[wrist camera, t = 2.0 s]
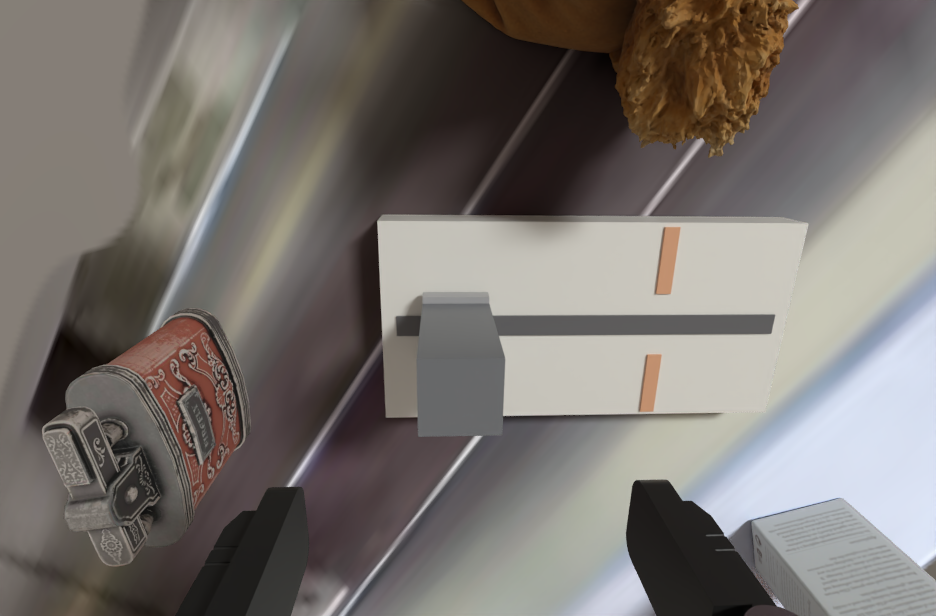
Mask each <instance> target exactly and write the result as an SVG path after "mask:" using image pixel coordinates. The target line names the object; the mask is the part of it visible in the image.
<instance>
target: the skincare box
mask: <svg viewBox="0 0 936 616" xmlns="http://www.w3.org/2000/svg"><path fill="white" fill-rule="evenodd" d="M751 524H752V536H753V547H754V558H755V568H756V570H757V572H758V573H759V574H760V576H761V577H762V578H763V580H764V581H765V582H766V584H767V585H768V586H769V588H770V589H771V590H772V592H773V593H774V594H775V596H776V597H777V598H778V600H779V601H780V602H781V604H782V605H783V606H784V608H785V609H786V610H789V611H791V612H793V613H795V614H797V615H798V616H936V581H935V580H934V579H933V578H932V577H931V576H930V575H928V573H926V572H925V571H924V570H923V569H922V568H921V567H920V566H919V565H917V564H916V563H915V562H914V561H913V560H912V559H911V558H910V557H909V556H907V555H906V554H905V553H904V552H903V551H902V550H901V549H899V548H898V547H897V546H896V545H895V544H894V543H893V542H892V541H891V540H889V539H888V538H887V537H886V536H885V535H884V534H883V533H882V532H880V531H879V530H878V529H877V528H876V527H875V526H874V525H872V524H871V523H870V522H869V521H868V520H867V519H866V518H865V517H864V516H862V515H861V514H860V513H859V512H858V511H857V510H856V509H855V508H853V507H852V506H851V505H850V504H849V503H848V502H846V501H845V500H844V499H842V498H839V499H835V500H831V501H827V502H823V503H820V504H816V505H812V506H808V507H804V508H800V509H796V510H792V511H788V512H785V513H781V514H777V515H773V516H769V517H765V518H761V519H757V520H753V521H752V522H751Z"/></svg>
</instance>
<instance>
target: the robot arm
mask: <svg viewBox="0 0 936 616" xmlns="http://www.w3.org/2000/svg"><path fill="white" fill-rule="evenodd" d="M626 540H627V547H628V552H629V555H630V558H631V561H632V563H633V565H634V567H635V569H636V572H637V574H638V576H639V578H640V580H641V583H642V585H643V587H644V589H645V591H646V594H647V596H648V598H649V600H650V602H651V604H652V607H653V609H654V611H655V613H656V615H657V616H798V615H797V614H795V613H793V612H791V611H789V610H786V609H783V608H780V607H777V606H776V605H775V603H774V602H773V601H772V599H771V598H770V596H769V595H768V594H767V592H766V591H765V590H764V588H763V587H762V585H761V584H760V583H759V581H758V580H757V578H756V577H755V576H754V574H753V573H752V572H751V570H750V569H749V567H748V566H747V565H746V563H745V562H744V561H743V559H742V558H741V556H740V555H739V554H738V552H735V550H734V547H733V545H732V544H731V543H730V541H729V540H728V539H727V537H724V533H723V532H722V530H721V529H720V528H719V526H718V525H717V523H716V522H715V521H714V519H713V518H712V516H711V515H709V514H708V513H707V512H705V511H704V510H703V509H701V508H700V507H699V506H698V505H696V504H695V503H694V502H692V501H682V499H681V498H680V497H679V495H678V494H677V492H676V491H675V489H674V488H673V486H672V485H671V483H670V482H669V481H668V480H636V481H635V482H634V483H633V486H632V493H631V500H630V508H629V515H628V522H627V530H626ZM308 551H309V536H308V527H307V517H306V508H305V498H304V491H303V488H302V487H272V488H268V489H267V491H266V492H265V494H264V496H263V498H262V500H261V502H260V504H259V506H258V508H257V510H256V511H242V512H241V513H240V514H239V515H238V516H237V517H236V518H235V519H234V520H232V521H231V522H230V523H229V524H228V525H227V526H226V527H225V528H224V530H223V531H222V533H221V535H220V537H219V538H218V540H217V542H216V544H215V546H214V550H212V551H211V553H210V555H209V556H208V558H207V560H206V562H205V566H204V567H202V569H201V571H200V572H199V574H198V576H197V578H196V579H195V581H194V583H193V585H192V587H191V588H190V590H189V592H188V594H187V596H186V597H185V599H184V601H183V603H182V604H181V606H180V608H179V610H178V612H177V613H176V615H175V616H291V613H292V610H293V606H294V603H295V600H296V597H297V594H298V591H299V588H300V584H301V581H302V578H303V575H304V572H305V568H306V565H307V559H308Z"/></svg>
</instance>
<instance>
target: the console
mask: <svg viewBox="0 0 936 616" xmlns="http://www.w3.org/2000/svg"><path fill="white" fill-rule="evenodd" d="M808 224H809V223H805V222H800V221H796V220H792V219H788V218H783V217H697V216H540V215H383V214H382V215H381V217H380V218H379V219H378V221H377V225H378V248H379V271H380V294H381V317H382V340H383V363H384V386H385V409H386V418H396V417H418V411H417V362H416V359H417V349H418V340H419V331H420V322H421V313H422V304H423V302H422V297H423V292H488V294H489V304H490V308H491V311H492V315H493V318H494V321H495V325H496V328H497V332H498V335H499V338H500V342H501V345H502V349H503V352H504V355H505V379H504V404H503V416H531V415H599V414H666V413H734V412H766V407H767V403H768V399H769V394H770V390H771V386H772V381H773V377H774V372H775V368H776V364H777V359H778V355H779V350H780V346H781V342H782V337H783V333H784V329H785V324H786V320H787V315H788V311H789V307H790V302H791V298H792V294H793V289H794V285H795V280H796V276H797V272H798V267H799V263H800V259H801V254H802V250H803V245H804V241H805V237H806V232H807V228H808Z"/></svg>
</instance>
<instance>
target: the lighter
mask: <svg viewBox="0 0 936 616" xmlns="http://www.w3.org/2000/svg"><path fill="white" fill-rule="evenodd" d="M66 405H67V409H66V410H65V411H64V412H62V413H61V414H60V415H58V416H57V417H55V418H54V419H53V420H51V421H50V422H49V423H47V424H46V425H45V426H44V427H43V429H42V433H43V439H44V442H45V444H46V446H47V448H48V451H49V453H50V455H51V457H52V459H53V461H54V464H55V466H56V468H57V470H58V472H59V474H60V476H61V479H62V481H63V483H64V485H65V487H67V489H68V491H69V493H68V500H67V503H66V505H65V508H64V520H65V522H66V524H67V526H68V528H69V529H70V530H71V531H73V532H80V531H85V532H88V534H89V536H90V538H91V541H92V543H93V545H94V547H95V549H96V551H97V553H98V556H99V558H100V559H101V561H102V562H103V563H104V564H106V565H108V566H123V565H127V564H129V563H131V562H132V561H133V559H134V558H135V557H136V555H137V554H138V553H139V551H140V550H141V548H142V547H143V546H147V547H164V546H168V545H172V544H174V543H175V542H177V541H178V540H180V539H181V538H182V536H183V535H184V533H185V532H186V531H187V529H188V527H189V526H190V524H191V523H192V521H193V520H194V513H195V512H194V510H195V509H196V507H197V505H198V504H199V502H200V501H201V499H202V498H203V496H204V495H205V493H206V492H207V490H208V489H209V487H210V486H211V484H212V483H213V481H214V480H215V478H216V477H217V475H218V474H219V472H220V471H221V469H222V468H223V466H224V465H225V463H226V462H227V460H228V459H229V457H230V456H231V454H232V453H233V451H235V450H236V449H238V448H239V447H241V445H242V444H243V442H244V441H245V439H246V438H247V436H248V435H249V433H250V429H251V421H250V409H249V400H248V395H247V391H246V386H245V382H244V377H243V374H242V371H241V368H240V366H239V363H238V361H237V358H236V355H235V353H234V350H233V348H232V346H231V344H230V342H229V340H228V338H227V336H226V334H225V332H224V331H223V329H222V327H221V325H220V323H219V321H218V320H217V319H216V318H215V316H214V315H212V314H211V313H209V312H207V311H205V310H202V309H198V308H187V309H184V310H180V311H178V312H177V313H175V314H174V315H172V316H171V317H170V318H168V319H167V320H165V321H164V323H163V324H162V326H161V327H160V329H159V330H157V331H156V332H154V333H153V334H151V335H150V336H148V337H147V338H145V339H144V340H142V341H141V342H139V343H138V344H136V345H135V346H133V347H132V348H131V349H129V350H128V351H126V352H125V353H123V354H122V355H120V356H119V357H117V358H116V359H114V360H113V361H111V362H110V363H108V364H107V365H102V366H99V367H95V368H92V369H91V370H89V371H88V372H86V373H85V374H83V375H82V376H80V377H79V378H77V379H76V380H75V381H73V382H72V383H71V384H70V385H69V387H68V389H67V391H66Z"/></svg>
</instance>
